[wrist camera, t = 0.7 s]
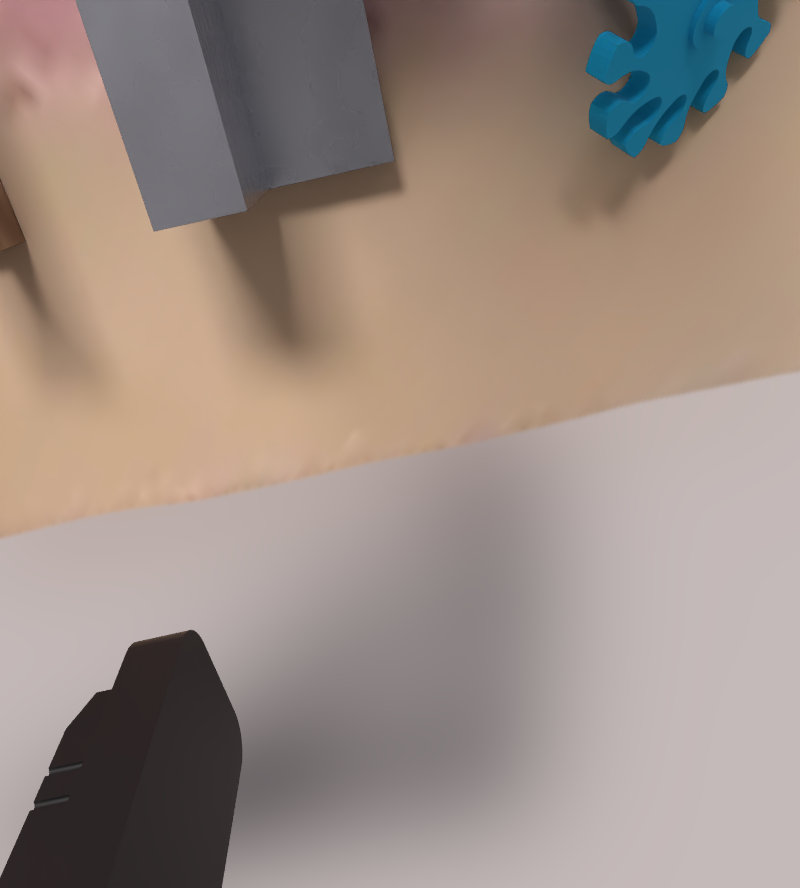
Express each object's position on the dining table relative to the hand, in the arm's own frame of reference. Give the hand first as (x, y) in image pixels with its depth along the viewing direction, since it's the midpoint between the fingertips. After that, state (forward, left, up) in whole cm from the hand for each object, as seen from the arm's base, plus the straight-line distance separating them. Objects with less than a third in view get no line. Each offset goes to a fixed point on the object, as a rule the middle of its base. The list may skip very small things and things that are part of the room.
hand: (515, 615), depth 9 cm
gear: (-7, +12, -25) cm, 28 cm away
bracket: (-9, -4, -25) cm, 26 cm away
